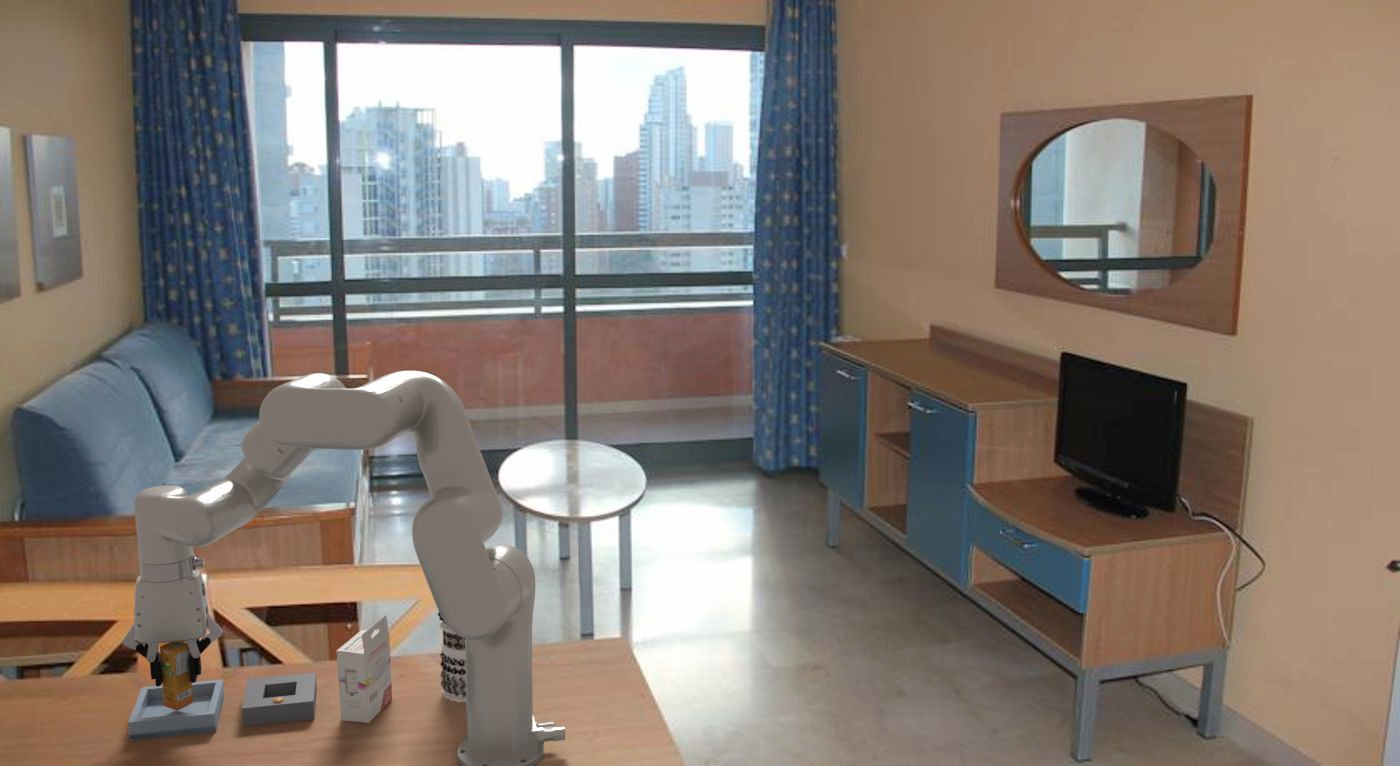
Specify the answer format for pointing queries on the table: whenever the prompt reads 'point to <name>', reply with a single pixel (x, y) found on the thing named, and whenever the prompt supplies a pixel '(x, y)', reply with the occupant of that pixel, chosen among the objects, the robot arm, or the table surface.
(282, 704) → the holder and tray
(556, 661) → the table surface
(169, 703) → the supplement box
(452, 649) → the decorative candle
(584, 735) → the table surface
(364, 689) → the ink cartridge box
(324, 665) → the table surface
